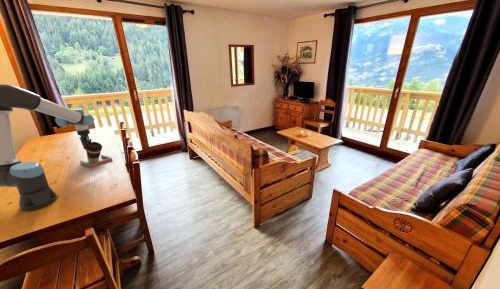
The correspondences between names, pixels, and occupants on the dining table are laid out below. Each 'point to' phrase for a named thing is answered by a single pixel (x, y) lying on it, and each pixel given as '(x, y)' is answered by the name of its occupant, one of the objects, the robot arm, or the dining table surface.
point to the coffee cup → (93, 151)
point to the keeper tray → (107, 159)
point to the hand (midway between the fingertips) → (90, 157)
